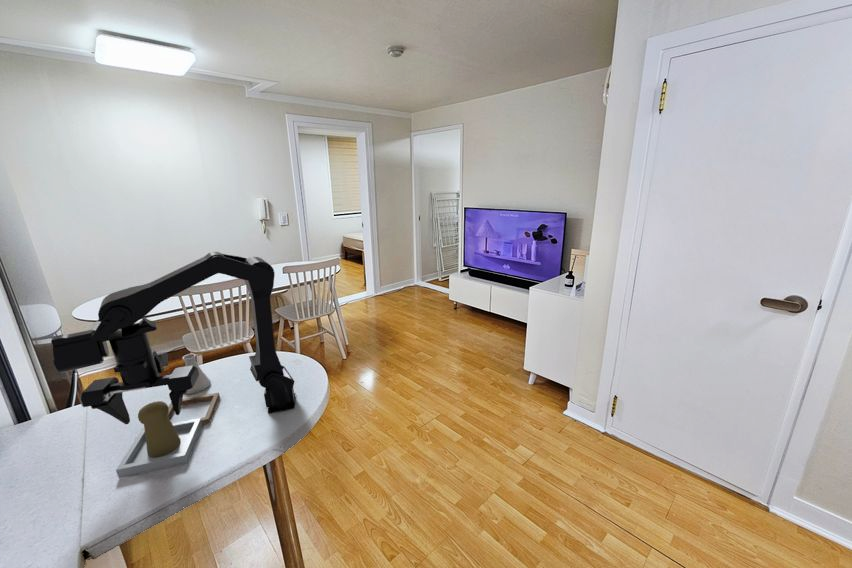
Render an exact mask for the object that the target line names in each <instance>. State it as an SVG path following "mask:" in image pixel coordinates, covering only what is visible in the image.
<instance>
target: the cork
mask: <svg viewBox="0 0 852 568" xmlns="http://www.w3.org/2000/svg"><path fill="white" fill-rule="evenodd" d="M168 407H169V405H168V404H167V403H166V402H164V401H159V400H157V401H153V402H149V403H148V404H146V405H143V406H142V407H141V408H140V410H138V414H137V418H138V421H139V423H141V425H143V429H145V437H146V445H147V453H148V456H149V457H152V458H158V457H162V456H165V455H167V454H169V453H171V452H173V451H174V450H175V449H176V448H177V447H178V446H179V445H180V443H181V440H180V438H179V436H178V434H177V432H176V430H175V428H174V426H173V425H172V421H171V418H170V419H169V417H168V413H169V408H168Z"/></svg>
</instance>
